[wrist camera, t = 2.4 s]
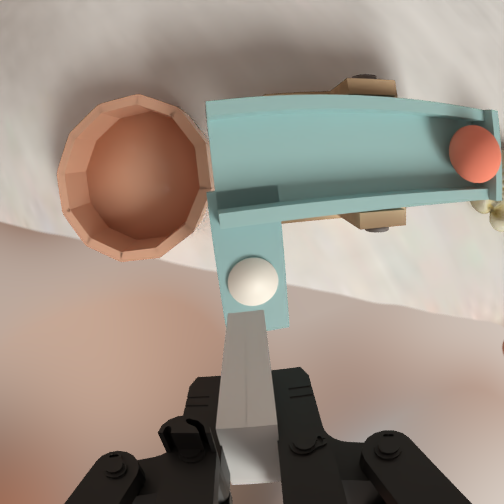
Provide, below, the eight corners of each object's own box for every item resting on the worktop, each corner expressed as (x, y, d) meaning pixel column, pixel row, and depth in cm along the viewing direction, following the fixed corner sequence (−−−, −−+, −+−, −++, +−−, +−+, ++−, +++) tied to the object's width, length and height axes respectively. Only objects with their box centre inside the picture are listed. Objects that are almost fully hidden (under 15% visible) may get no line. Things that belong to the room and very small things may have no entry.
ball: (435, 123, 18) (483, 121, 14) (464, 127, 19) (507, 127, 15) (439, 181, 19) (487, 187, 15) (467, 179, 20) (510, 184, 16)
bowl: (76, 123, 25) (51, 119, 21) (207, 94, 25) (199, 81, 20) (96, 252, 28) (74, 267, 24) (223, 237, 28) (219, 251, 24)
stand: (263, 96, 25) (270, 66, 16) (393, 94, 25) (447, 74, 16) (276, 222, 28) (290, 251, 19) (402, 210, 28) (457, 233, 19)
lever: (197, 111, 17) (194, 99, 14) (467, 113, 19) (497, 111, 16) (226, 329, 21) (230, 357, 18) (467, 278, 23) (493, 291, 20)
